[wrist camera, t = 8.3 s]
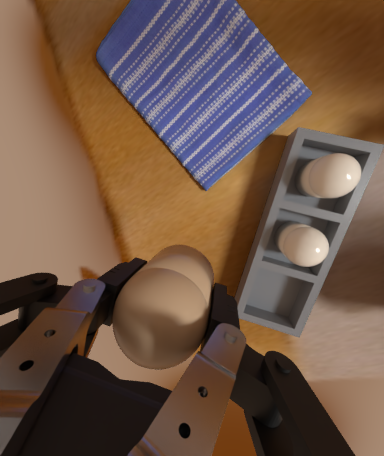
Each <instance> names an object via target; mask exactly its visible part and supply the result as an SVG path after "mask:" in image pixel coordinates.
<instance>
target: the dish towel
mask: <svg viewBox="0 0 384 456" xmlns="http://www.w3.org/2000/svg"><path fill="white" fill-rule="evenodd" d="M96 58H97V61H98V63H99V64H100V66H101V67H102V68H103V70H104V71H105V72H106V74H107V75H108V76H109V78H110V79H111V81H112V82H113V83H114V84H115V85H116V86H117V87H118V88H119V89H120V91H121V92H122V94H123V95H124V96H125V97H126V98H127V100H128V101H129V102H130V103H131V104H132V105H133V106H134V107H135V109H136V110H137V111H138V112H139V113H140V114H141V115H142V117H143V118H144V119H145V120H146V122H147V123H148V124H149V125H150V126H151V127H152V129H153V130H154V131H155V132H156V133H157V134H158V136H159V138H161V139H162V140H163V141H164V142H165V144H166V145H167V146H168V147H169V149H170V150H171V152H172V153H173V154H174V155H175V156H176V157H177V158H178V159H179V161H180V162H181V163H182V165H183V166H184V167H185V168H186V169H187V170H188V171H189V173H190V174H192V176H193V177H194V179H195V180H197V181H198V182H199V183H200V185H201V186H202V187H203V188H204V189H205V191H207V190H208V189H209V188H210V187H211V186H212V185H214V184H215V183H216V182H217V181H218V180H219V179H220V178H221V177H222V176H224V175H225V174H226V173H227V172H228V171H230V170H231V169H232V168H233V167H234V166H235V165H237V164H238V163H239V162H240V161H241V160H242V159H243V158H244V157H246V156H247V155H248V154H249V153H250V152H251V151H252V150H254V149H255V148H256V147H257V146H258V145H259V144H261V143H262V142H263V141H264V140H265V139H266V138H267V137H268V136H269V135H271V134H272V133H273V132H274V131H275V130H276V129H277V128H278V127H279V126H281V124H283V123H284V122H285V121H286V120H287V119H288V118H289V117H290V116H291V115H292V114H293V113H294V112H295V111H296V110H297V109H298V108H299V107H300V106H301V105H302V104H303V103H304V102H305V101H306V99H307V98H308V97H310V96H311V95H312V92H311V91H310V90H309V89H308V88H307V87H306V86H305V85H304V83H303V82H302V80H301V79H300V78H299V77H298V76H297V75H295V73H294V72H292V71H291V70H290V69H289V67H288V66H287V64H286V63H285V62H284V61H283V60H282V59H281V58H280V56H279V55H278V54H277V52H276V51H275V50H274V48H273V46H272V45H271V44H270V43H269V42H268V41H267V40H266V38H265V37H264V36H263V35H262V34H261V33H260V32H259V30H258V28H257V27H256V26H255V25H254V23H253V22H252V21H251V20H250V19H249V18H248V17H247V15H246V13H245V11H244V10H243V9H242V8H241V7H240V5H239V4H238V3H237V1H236V0H131V1H130V2H129V4H128V5H127V6H126V8H125V9H124V10H123V12H122V14H121V15H120V16H119V18H118V19H117V20H116V22H115V23H114V24H113V25H112V27H111V29H110V31H109V32H108V34H107V36H106V37H105V38H104V39H103V40H102V42H101V44H100V46H99V48H98V50H97V53H96Z"/></svg>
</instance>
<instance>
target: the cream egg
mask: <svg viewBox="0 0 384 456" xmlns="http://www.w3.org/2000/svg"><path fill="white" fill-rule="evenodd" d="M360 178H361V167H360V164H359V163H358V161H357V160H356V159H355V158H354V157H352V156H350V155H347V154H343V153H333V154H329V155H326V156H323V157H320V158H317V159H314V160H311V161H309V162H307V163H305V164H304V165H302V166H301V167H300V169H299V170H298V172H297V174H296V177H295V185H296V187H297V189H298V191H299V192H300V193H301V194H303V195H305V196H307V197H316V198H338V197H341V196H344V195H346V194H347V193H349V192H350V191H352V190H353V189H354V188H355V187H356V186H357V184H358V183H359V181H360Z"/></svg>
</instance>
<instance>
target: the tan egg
mask: <svg viewBox="0 0 384 456" xmlns="http://www.w3.org/2000/svg"><path fill="white" fill-rule="evenodd" d="M213 285H214V273H213V269H212V266H211V264H210V262H209V261H208V259H207V258H206V257H205V256H204V255H203V254H202V253H201V252H199V251H198V250H196V249H194V248H192V247H189V246H186V245H173V246H169V247H166V248H164V249H163V250H161V251H160V252H159V253H158V254H156V255H155V256H154V257H153V258H152V259H151V260H150V261H149V262H148V263H147V264H146V265H144V266H143V267H142V268H141V269H140V270H139V271H138V272H137V273H136V274H135V275H133V276H132V277H131V278H130V279H129V280H128V281H127V283H126V284H125V285H124V286H123V288H122V289H121V291H120V293H119V294H118V297H117V299H116V302H115V305H114V309H113V317H112V323H113V332H114V335H115V339H116V341H117V343H118V346H119V347H120V349H121V350H122V352H123V353H124V354H125V355H126V356H127V358H129V359H130V360H131V361H132V362H134V363H135V364H137V365H139V366H141V367H144V368H148V369H155V370H162V369H167V368H171V367H174V366H177V365H179V364H180V363H182V362H184V361H186V360H187V359H188V358H189V357H190V356H191V355H193V354H194V352H195V351H196V350H197V349H198V347H199V346H200V344H201V343H202V341H203V339H204V337H205V334H206V331H207V328H208V323H209V316H210V308H211V300H212V292H213Z"/></svg>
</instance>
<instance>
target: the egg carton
mask: <svg viewBox="0 0 384 456" xmlns="http://www.w3.org/2000/svg"><path fill="white" fill-rule="evenodd" d="M383 148H384V145H383V144H378V143H373V142H368V141H363V140H358V139H353V138H349V137H344V136H339V135H334V134H329V133H324V132H320V131H315V130H310V129H305V128H300V127H298V128H297V129H296V130H295V131H294V132H292V133H291V134H290V135H289V136H288V139H287V142H286V145H285V148H284V151H283V154H282V157H281V160H280V163H279V166H278V169H277V172H276V175H275V178H274V181H273V184H272V187H271V190H270V193H269V196H268V199H267V202H266V205H265V208H264V211H263V214H262V217H261V220H260V223H259V226H258V229H257V232H256V235H255V238H254V241H253V244H252V247H251V250H250V253H249V256H248V259H247V262H246V265H245V268H244V271H243V274H242V277H241V280H240V283H239V286H238V289H237V292H236V295H235V298H234V299H235V300H236V302H237V307H238V316H239V318H240V319H243V320H246V321H249V322H252V323H256V324H259V325H262V326H265V327H268V328H271V329H274V330H277V331H281V332H284V333H287V334H290V335H293V336H296V337H300V335H301V333H302V331H303V328H304V326H305V324H306V322H307V319H308V317H309V315H310V313H311V310H312V308H313V306H314V304H315V301H316V299H317V297H318V294H319V292H320V290H321V288H322V285H323V283H324V281H325V279H326V276H327V274H328V272H329V270H330V267H331V265H332V263H333V261H334V258H335V256H336V254H337V252H338V249H339V247H340V245H341V243H342V240H343V238H344V236H345V234H346V231H347V229H348V227H349V225H350V222H351V220H352V218H353V216H354V213H355V211H356V209H357V207H358V204H359V202H360V200H361V198H362V195H363V193H364V191H365V189H366V186H367V184H368V182H369V179H370V177H371V175H372V173H373V170H374V168H375V166H376V164H377V161H378V159H379V157H380V155H381V152H382V150H383ZM333 153H343V154H347V155H350V156H352V157H354V158H355V159H356V160H357V161H358V163H359V164H360V167H361V178H360V181H359V183H358V184H357V186H356V187H355V188H354V189H353V190H352V191H350V192H349V193H347V194H346V195H344V196H341V197H338V198H316V197H307V196H305V195H303V194H301V193H300V192H299V191H298V189H297V187H296V185H295V177H296V174H297V172H298V170H299V169H300V167H301V166H302V165H304V164H305V163H307V162H309V161H311V160H314V159H317V158H320V157H323V156H326V155H329V154H333ZM290 221H296V222H300V223H303V224H305V225H308V226H310V227H313V228H315V229H317V230H319V231H320V232H322V233H323V234H324V235H325V237H326V238H327V240H328V243H329V252H328V255H327V257H326V258H325V259H324V260H323V261H322V262H321V263H319V264H317V265H315V266H310V267H304V266H299V265H296V264H294V263H292V262H291V261H290V260H289V259H288V258H287V257H286V256H285V255H284V254H283V253H282V252H281V251H280V250H279V249H278V248H277V246H276V245H275V241H274V236H275V233H276V231H277V229H278V228H279V227H280V226H281V225H282V224H284V223H286V222H290Z"/></svg>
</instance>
